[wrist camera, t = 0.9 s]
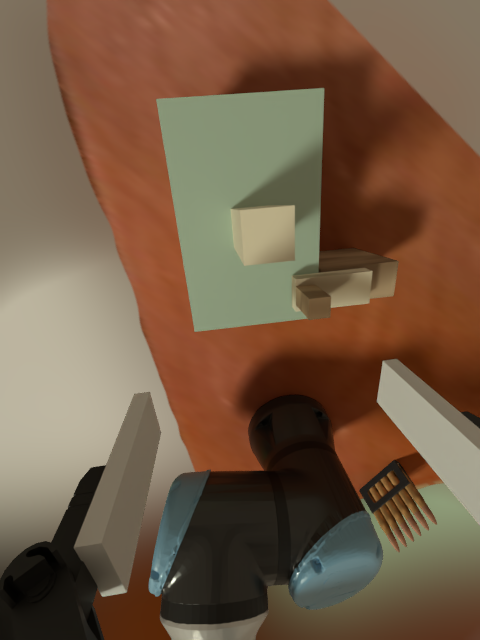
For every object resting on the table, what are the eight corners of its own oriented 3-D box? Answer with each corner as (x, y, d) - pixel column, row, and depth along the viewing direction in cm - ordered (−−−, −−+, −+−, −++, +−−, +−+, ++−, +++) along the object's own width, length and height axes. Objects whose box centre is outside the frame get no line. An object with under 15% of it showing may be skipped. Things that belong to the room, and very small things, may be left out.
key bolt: (361, 298, 31) (392, 317, 25) (291, 306, 30) (308, 327, 25) (364, 267, 29) (397, 280, 24) (291, 275, 29) (309, 290, 24)
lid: (310, 310, 33) (355, 357, 23) (195, 323, 32) (189, 379, 22) (315, 97, 25) (388, 21, 15) (160, 108, 24) (123, 35, 14)
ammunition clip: (364, 492, 61) (398, 556, 50) (359, 490, 60) (392, 553, 49) (399, 462, 58) (443, 522, 47) (394, 459, 58) (437, 519, 47)
